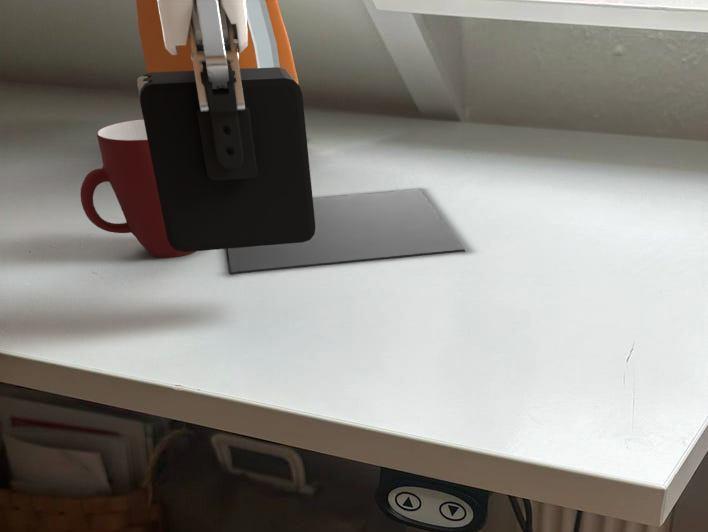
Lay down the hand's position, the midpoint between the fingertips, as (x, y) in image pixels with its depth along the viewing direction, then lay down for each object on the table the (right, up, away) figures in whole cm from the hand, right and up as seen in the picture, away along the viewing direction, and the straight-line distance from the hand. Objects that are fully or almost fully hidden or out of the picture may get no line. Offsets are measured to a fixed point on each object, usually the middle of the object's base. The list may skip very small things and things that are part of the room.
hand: (230, 165), depth 63 cm
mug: (-11, +2, +20) cm, 23 cm away
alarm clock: (-13, +29, +53) cm, 62 cm away
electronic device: (0, -4, +3) cm, 5 cm away
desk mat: (+3, +6, +24) cm, 25 cm away
